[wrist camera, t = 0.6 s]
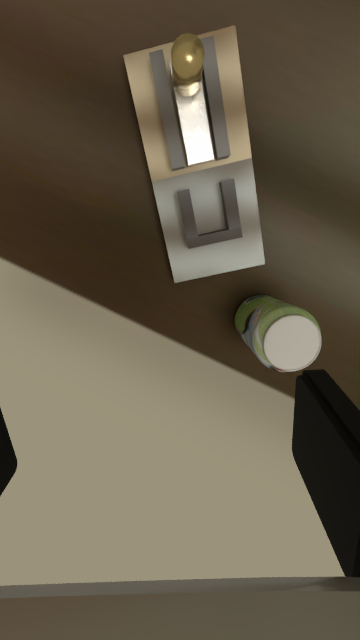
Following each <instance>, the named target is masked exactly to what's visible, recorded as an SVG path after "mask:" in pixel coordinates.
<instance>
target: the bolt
mask: <svg viewBox="0 0 360 640" xmlns="http://www.w3.org/2000/svg"><path fill="white" fill-rule="evenodd" d="M204 56H205V51H204V46H203V43H202V42H201V40H200V39H199V38H198V37H197V36H196V35H194V34H191V33H185V34H182V35H180V36H179V37H178V38H177V39H176V40H175V41H174V43H173V46H172V49H171V61H172V62H170V63H169V64H170V73H171V78H172V84H173V89H174V94H175V100H176V105H177V110H178V116H179V121H180V126H181V132H182V137H183V142H184V148H185V153H186V158H187V164H188V167H191V166H195V165H200V164H204V163H208V162H212V161H213V160H214V156H213V150H212V144H211V138H210V131H209V125H208V119H207V113H206V107H205V100H204V94H203V88H202V82H201V77H202V70H203V63H204Z"/></svg>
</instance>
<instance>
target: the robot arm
mask: <svg viewBox="0 0 360 640" xmlns="http://www.w3.org/2000/svg"><path fill="white" fill-rule="evenodd" d="M293 423H294V424H293V439H292V452H293V456H294V460H295V462H296V464H297V467H298V469H299V471H300V474H301V476H302V478H303V480H304V483H305V485H306V487H307V490H308V492H309V494H310V496H311V499H312V501H313V503H314V506H315V508H316V510H317V513H318V515H319V517H320V519H321V522H322V524H323V526H324V529H325V530H326V533H327V536H328V538H329V540H330V542H331V545H332V547H333V549H334V552H335V554H336V556H337V559H338V561H339V563H340V566H341V568H342V570H343V572H344V574H345V576H346V577H267V578H266V577H263V578H262V577H261V578H225V579H193V580H158V581H124V582H96V583H66V584H41V585H40V584H39V585H11V586H0V640H360V411H359V409H358V408H357V407H356V406H355V405H354V404H353V402H352V401H351V400H350V399H349V398H348V397H347V395H346V394H345V393H344V392H343V391H342V390H341V388H340V387H339V386H338V385H337V384H336V383H335V381H334V380H333V379H332V378H331V377H330V376H329V374H328V373H327V372H326V371H325V370H323V369H321V370H304V371H303V373H302V375H300V376H297V378H296V390H295V406H294V422H293ZM16 468H17V458H16V456H15V452H14V449H13V446H12V443H11V440H10V437H9V433H8V430H7V428H6V424H5V421H4V418H3V415H2V412H1V408H0V495H1V494H2V492H3V491H4V489H5V488H6V486H7V485H8V483H9V481H10V480H11V478H12V477H13V475H14V473H15V471H16Z"/></svg>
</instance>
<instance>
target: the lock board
mask: <svg viewBox="0 0 360 640" xmlns="http://www.w3.org/2000/svg"><path fill="white" fill-rule="evenodd" d="M197 37H198V38H199V39H200V40H201V42H202V43H203V46H204V51H205V56H204V63H203V70H202V77H201V82H202V88H203V94H204V100H205V107H206V113H207V119H208V125H209V131H210V138H211V144H212V150H213V156H214V160H213V161H212V162H208V163H204V164H200V165H195V166H191V167H188V164H187V158H186V153H185V148H184V142H183V137H182V132H181V126H180V121H179V116H178V110H177V105H176V100H175V94H174V89H173V84H172V78H171V73H170V64H169V63H170V62H172V61H171V49H172V46H173V43H174V42H171V43H167V44H164V45H160V46H156V47H153V48H149V49H145V50H141V51H138V52H134V53H130V54H127V55H123V56H124V61H125V65H126V70H127V74H128V79H129V83H130V87H131V92H132V96H133V101H134V105H135V110H136V114H137V118H138V123H139V127H140V132H141V136H142V141H143V145H144V149H145V154H146V158H147V163H148V167H149V172H150V176H151V181H152V185H153V189H154V194H155V198H156V203H157V207H158V212H159V216H160V220H161V225H162V229H163V234H164V238H165V243H166V247H167V251H168V256H169V260H170V265H171V269H172V274H173V278H174V282H175V283H177V282H182V281H186V280H191V279H196V278H201V277H205V276H210V275H215V274H220V273H224V272H229V271H234V270H239V269H243V268H248V267H253V266H258V265H262V264H265V260H264V252H263V244H262V236H261V228H260V220H259V212H258V204H257V196H256V188H255V180H254V172H253V164H252V156H251V148H250V140H249V132H248V124H247V116H246V108H245V100H244V92H243V84H242V76H241V68H240V60H239V52H238V44H237V36H236V28H235V25H234V26H230V27H226V28H223V29H219V30H215V31H212V32H208V33H204V34H200V35H197Z"/></svg>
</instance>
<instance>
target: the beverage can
mask: <svg viewBox="0 0 360 640" xmlns="http://www.w3.org/2000/svg"><path fill="white" fill-rule="evenodd" d="M235 327H236V330H237V332H238V334H239V336H240V337H241V338H242V339H243V340H244V342H245V343H246V344H247V345H248V347H249V348H250V349H251V350H252V351H253V353H254V354H255V355H256V356H257V357H258V359H259V360H260V361H261V362H262V363H263V364H264V365H266V366H267V367H269V368H270V369H273V370H276V371H280V372H291V371H297V370H300V369H303V368H305V367H307V366H308V365H310V364H311V363H312V362H313V361H314V360H315V359H316V357H317V356H318V354H319V351H320V348H321V332H320V328H319V325H318V323H317V321H316V320H315V319H314V317H313V316H312V315H311V314H310V313H308V312H307V311H305V310H304V309H302V308H299V307H296V306H294V305H291V304H289V303H286V302H283V301H281V300H278V299H276V298H273V297H270V296H267V295H257V296H253V297H250V298H248V299H247V300H245V301H244V302H243V303H242V304H241V305H240V306H239V308H238V310H237V312H236V315H235Z"/></svg>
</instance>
